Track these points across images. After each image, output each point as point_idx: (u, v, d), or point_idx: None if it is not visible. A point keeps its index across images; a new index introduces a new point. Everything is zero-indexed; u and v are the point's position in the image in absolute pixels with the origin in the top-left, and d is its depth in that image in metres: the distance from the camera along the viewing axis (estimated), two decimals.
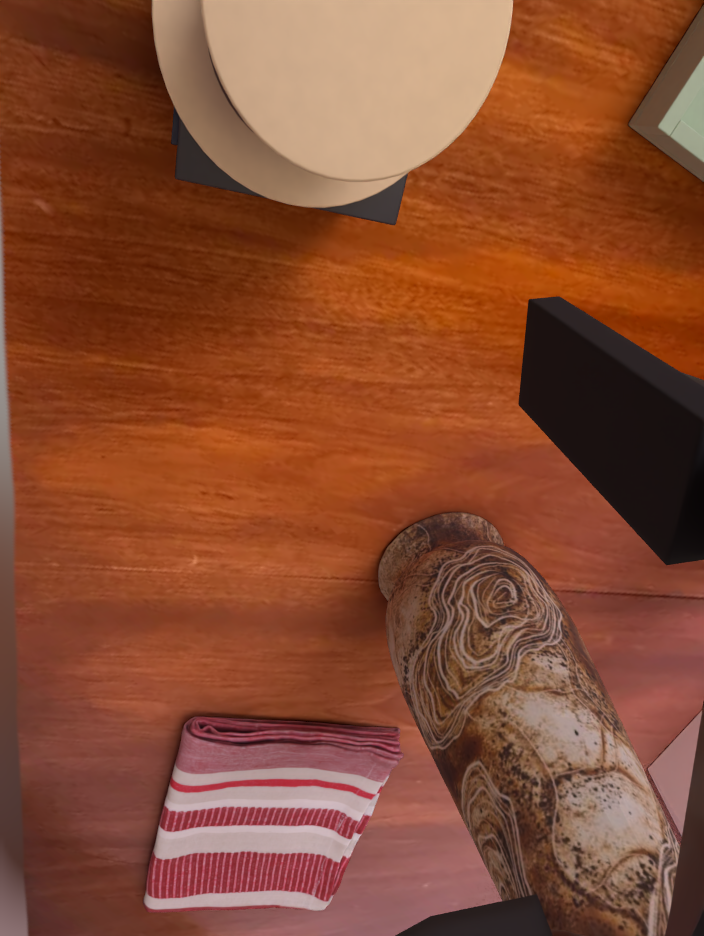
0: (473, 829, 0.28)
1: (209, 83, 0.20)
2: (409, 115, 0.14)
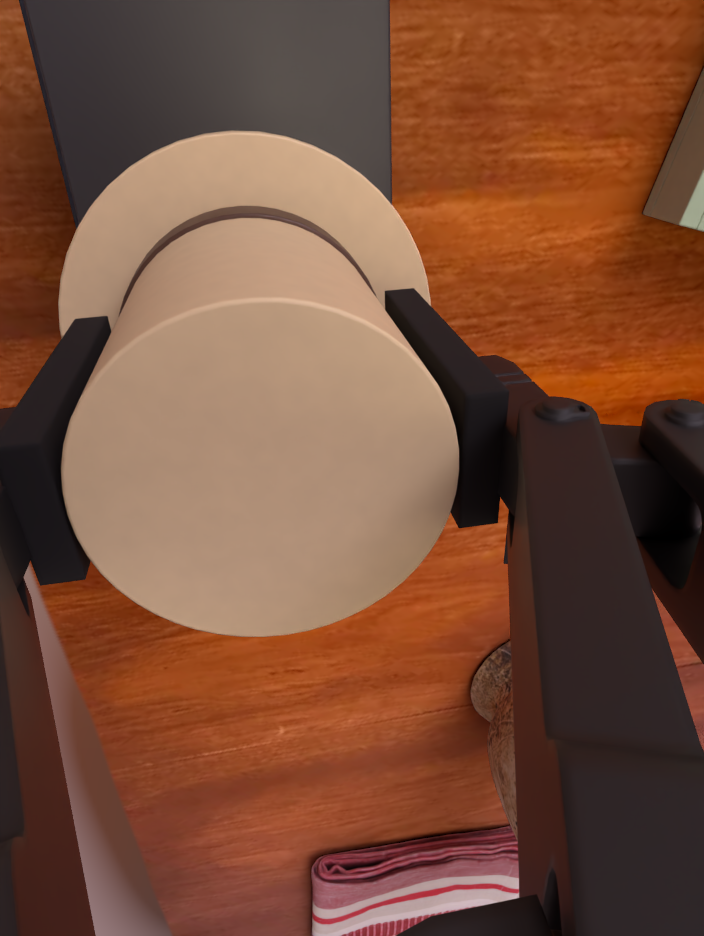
0: None
1: None
2: (361, 558, 0.12)
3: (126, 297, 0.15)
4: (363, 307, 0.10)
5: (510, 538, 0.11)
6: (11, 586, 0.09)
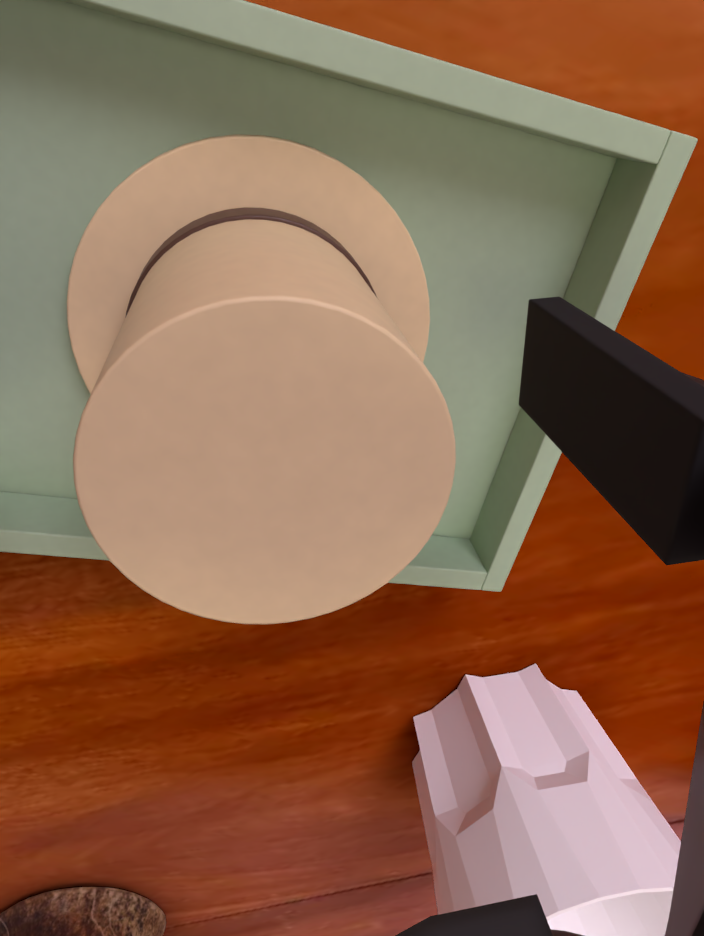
0: None
1: None
2: (361, 547, 0.12)
3: (133, 296, 0.16)
4: (363, 305, 0.11)
5: None
6: None
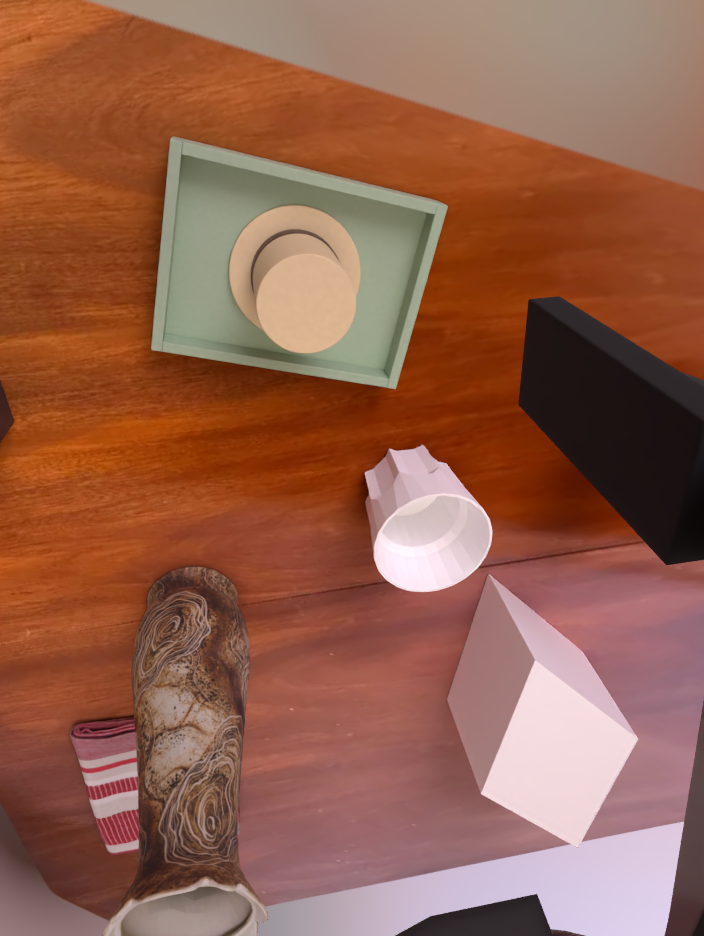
0: None
1: None
2: (330, 328, 0.43)
3: (255, 259, 0.47)
4: (330, 257, 0.42)
5: None
6: None
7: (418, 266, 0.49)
